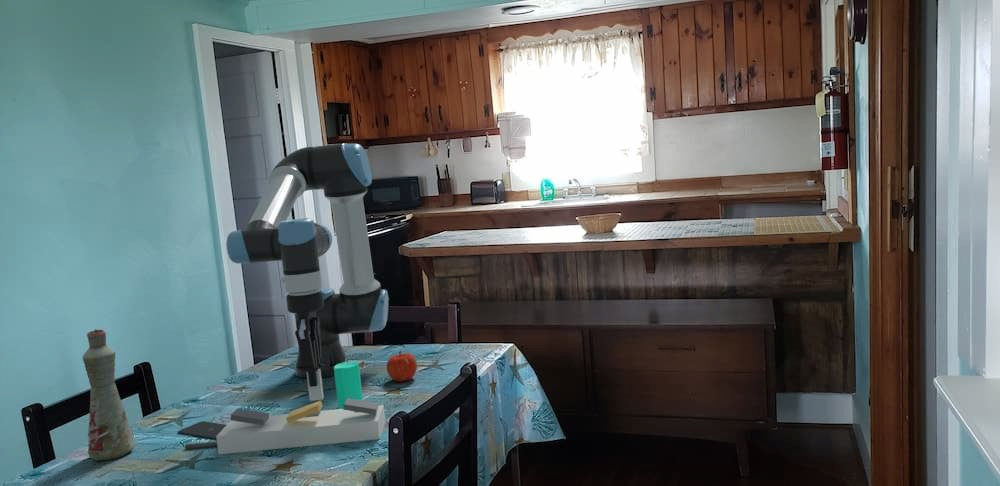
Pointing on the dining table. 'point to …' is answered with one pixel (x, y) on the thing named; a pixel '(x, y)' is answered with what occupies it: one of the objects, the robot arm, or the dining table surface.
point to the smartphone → (203, 430)
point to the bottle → (105, 403)
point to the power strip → (298, 431)
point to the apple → (401, 367)
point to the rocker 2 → (304, 411)
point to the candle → (347, 382)
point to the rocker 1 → (249, 416)
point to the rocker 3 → (361, 406)
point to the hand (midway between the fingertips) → (316, 399)
